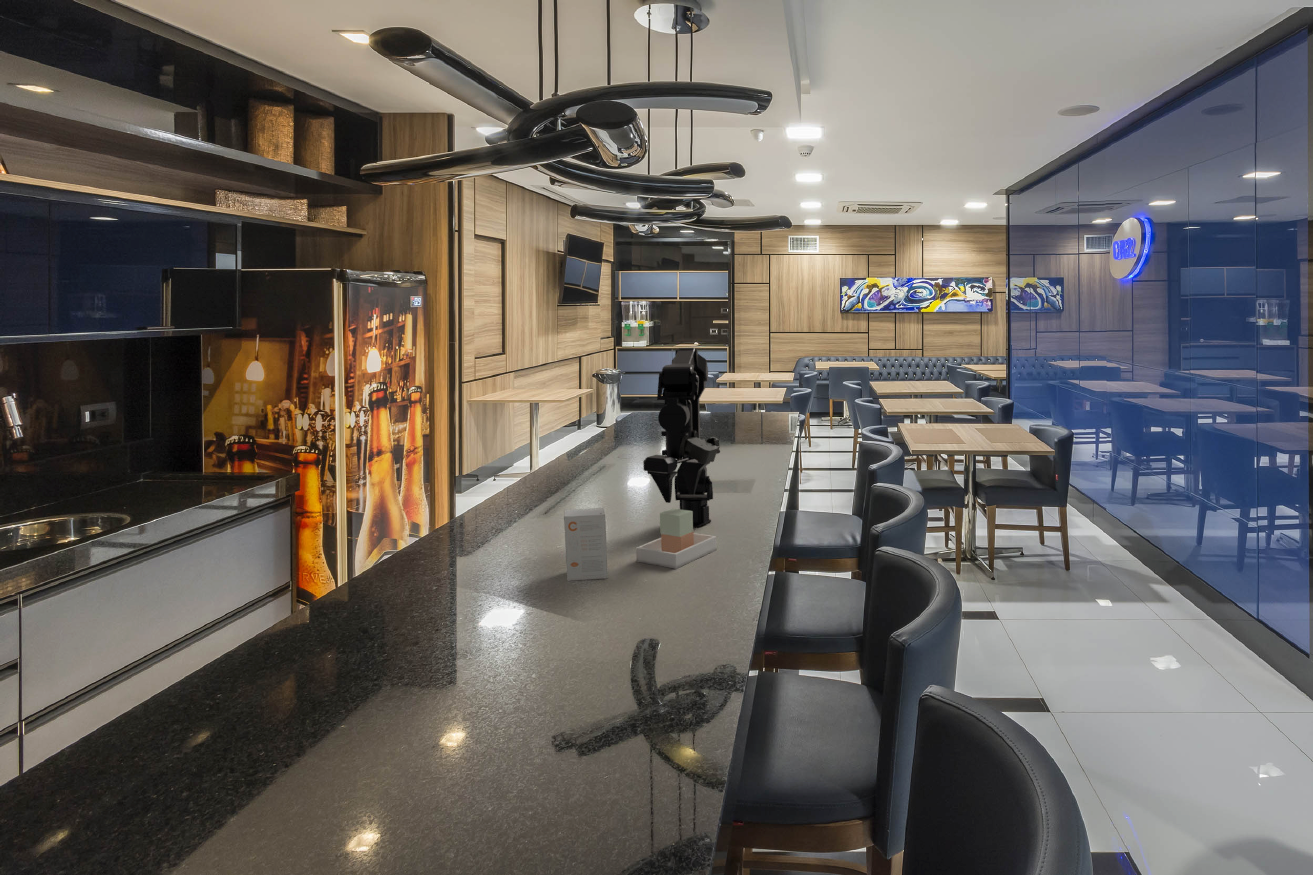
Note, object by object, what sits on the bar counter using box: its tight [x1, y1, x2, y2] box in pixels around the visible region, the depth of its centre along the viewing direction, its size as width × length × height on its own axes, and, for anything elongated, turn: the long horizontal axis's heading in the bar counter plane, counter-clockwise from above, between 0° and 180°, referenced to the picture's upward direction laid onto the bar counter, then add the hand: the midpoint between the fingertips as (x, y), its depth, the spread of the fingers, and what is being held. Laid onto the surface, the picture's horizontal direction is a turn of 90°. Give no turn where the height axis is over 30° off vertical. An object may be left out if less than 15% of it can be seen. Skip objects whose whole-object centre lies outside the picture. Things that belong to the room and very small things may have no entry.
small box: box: [563, 507, 609, 582], centre depth 162 cm, size 8×6×13 cm
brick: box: [660, 531, 695, 553], centre depth 175 cm, size 5×5×4 cm
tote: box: [635, 532, 718, 570], centre depth 175 cm, size 10×16×3 cm, turn 145°
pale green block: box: [659, 508, 694, 537], centre depth 174 cm, size 5×5×4 cm
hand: (680, 498), depth 174 cm, fingers open, 9 cm apart
